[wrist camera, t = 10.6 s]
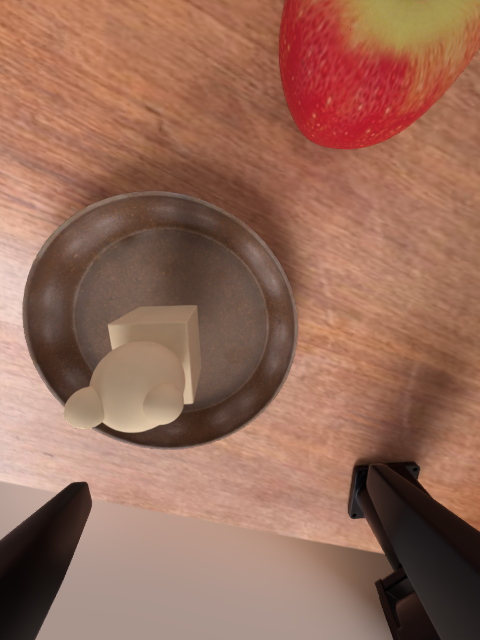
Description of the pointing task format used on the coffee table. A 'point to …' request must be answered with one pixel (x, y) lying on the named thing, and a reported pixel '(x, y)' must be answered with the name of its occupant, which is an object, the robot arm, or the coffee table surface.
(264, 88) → the coffee table surface
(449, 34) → the apple
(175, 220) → the plant saucer
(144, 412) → the bear
